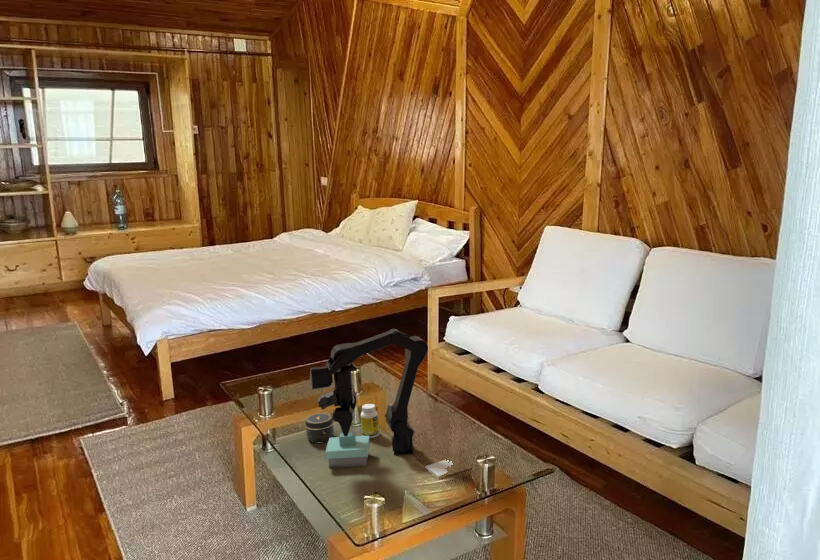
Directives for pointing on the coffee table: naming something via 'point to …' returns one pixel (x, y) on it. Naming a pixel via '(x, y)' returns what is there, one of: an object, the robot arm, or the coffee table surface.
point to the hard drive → (439, 467)
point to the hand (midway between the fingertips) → (347, 430)
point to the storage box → (348, 462)
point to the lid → (347, 446)
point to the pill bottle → (369, 421)
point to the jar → (319, 427)
